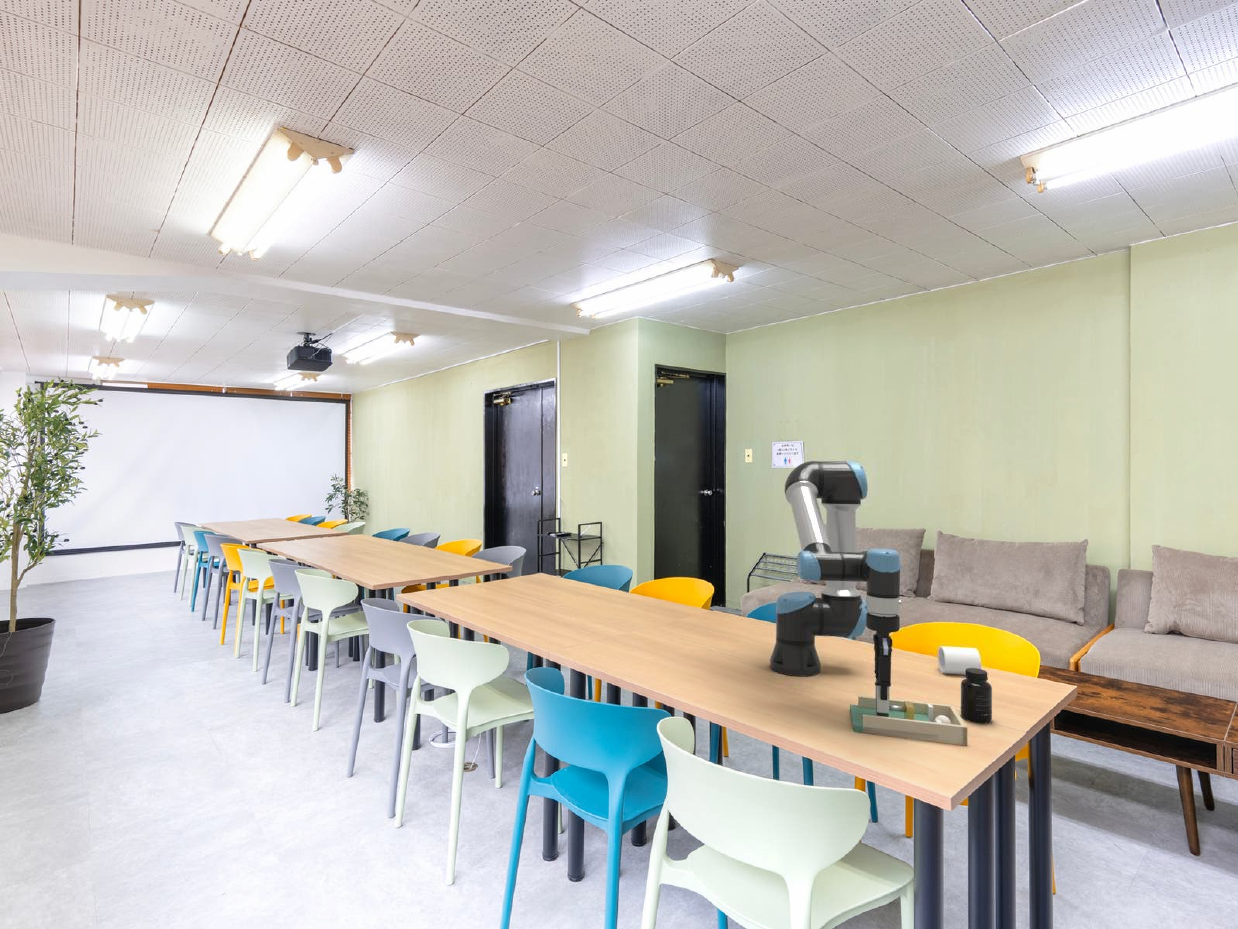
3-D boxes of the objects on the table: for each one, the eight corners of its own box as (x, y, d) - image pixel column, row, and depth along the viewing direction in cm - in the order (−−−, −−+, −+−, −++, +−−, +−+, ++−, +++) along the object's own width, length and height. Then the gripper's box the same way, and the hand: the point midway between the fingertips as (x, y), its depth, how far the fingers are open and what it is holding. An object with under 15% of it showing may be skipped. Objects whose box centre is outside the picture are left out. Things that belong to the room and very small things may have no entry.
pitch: (854, 732, 148) (854, 715, 148) (849, 710, 161) (849, 694, 162) (967, 745, 141) (967, 727, 141) (953, 721, 155) (953, 705, 155)
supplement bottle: (954, 713, 160) (954, 666, 160) (980, 713, 161) (980, 666, 161) (972, 724, 153) (972, 675, 153) (998, 723, 154) (998, 674, 154)
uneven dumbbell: (877, 718, 151) (877, 680, 151) (875, 712, 155) (875, 675, 155) (914, 722, 149) (914, 684, 149) (911, 716, 153) (911, 679, 153)
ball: (951, 735, 147) (935, 732, 148) (948, 729, 150) (932, 726, 151) (953, 720, 147) (937, 717, 148) (950, 715, 150) (934, 711, 151)
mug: (981, 679, 187) (981, 652, 187) (945, 676, 189) (945, 650, 189) (967, 667, 199) (967, 641, 199) (933, 664, 201) (933, 639, 201)
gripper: (904, 621, 144) (903, 724, 144) (895, 607, 160) (894, 700, 159) (869, 619, 147) (868, 720, 146) (863, 605, 162) (862, 697, 161)
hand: (882, 709), depth 153 cm, fingers closed on uneven dumbbell, 3 cm apart
